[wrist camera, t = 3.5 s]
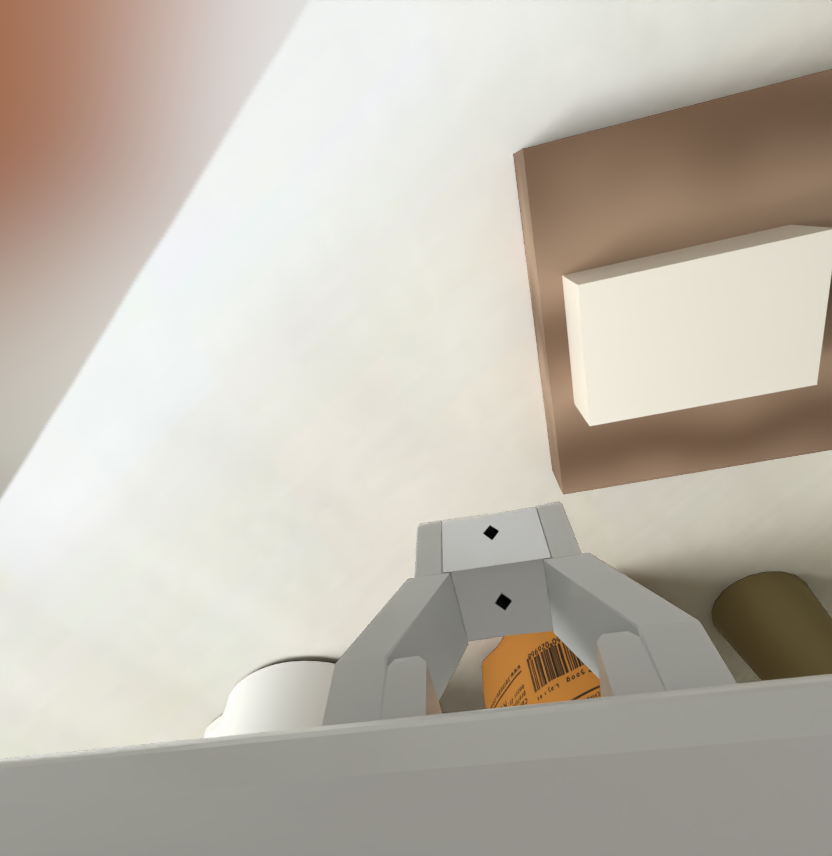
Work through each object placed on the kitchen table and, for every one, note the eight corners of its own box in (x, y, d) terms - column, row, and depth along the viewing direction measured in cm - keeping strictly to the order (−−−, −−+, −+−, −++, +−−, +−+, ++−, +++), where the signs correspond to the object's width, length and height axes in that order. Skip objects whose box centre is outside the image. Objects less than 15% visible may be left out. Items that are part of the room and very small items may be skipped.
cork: (818, 565, 30) (1012, 751, 20) (803, 635, 32) (969, 831, 22) (715, 577, 30) (852, 762, 20) (708, 645, 33) (827, 839, 23)
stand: (819, 423, 26) (856, 445, 23) (552, 470, 27) (563, 494, 25) (869, 62, 19) (928, 44, 17) (513, 154, 21) (522, 148, 18)
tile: (777, 365, 22) (816, 384, 19) (574, 403, 23) (589, 426, 21) (790, 224, 19) (837, 228, 17) (562, 275, 20) (577, 285, 18)
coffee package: (695, 626, 32) (1117, 1320, 12) (559, 717, 37) (708, 1334, 17) (591, 550, 30) (908, 1261, 10) (459, 657, 34) (495, 1295, 14)
